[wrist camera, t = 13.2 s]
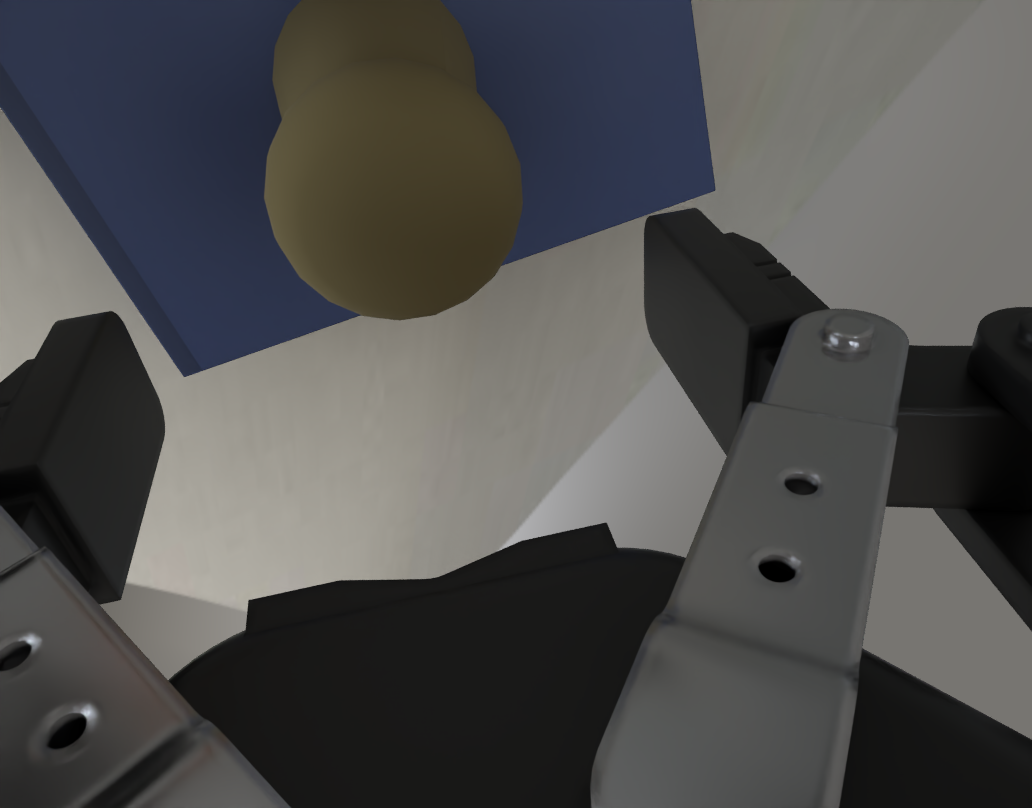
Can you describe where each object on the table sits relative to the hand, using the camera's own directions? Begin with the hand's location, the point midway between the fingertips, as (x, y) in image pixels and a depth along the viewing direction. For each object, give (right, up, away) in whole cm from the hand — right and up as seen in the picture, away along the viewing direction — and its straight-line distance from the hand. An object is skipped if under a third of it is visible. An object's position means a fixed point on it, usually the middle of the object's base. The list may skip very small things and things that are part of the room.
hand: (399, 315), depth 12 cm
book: (-3, +10, +14) cm, 17 cm away
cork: (-2, +8, +12) cm, 14 cm away
